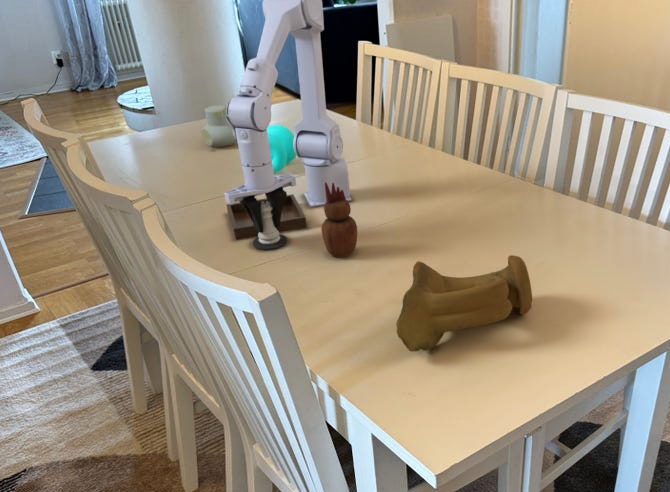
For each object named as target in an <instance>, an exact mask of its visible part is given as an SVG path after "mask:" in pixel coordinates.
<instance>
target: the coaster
mask: <svg viewBox="0 0 670 492" xmlns="http://www.w3.org/2000/svg"><path fill="white" fill-rule="evenodd" d="M279 236H280V240H279V241H278V242H277V243H275V244H272V245H264V244H262V243H260V242H259V240H258V239H259V237H258V236H256V238H254V239H253V241H252V246H253V247H254V248H255V249H256V250H259V251H274V250H277V249H280V248H283V247H284V246H286V245H287V244H288V237H287V236H285V235H284V234H281V233H279Z"/></svg>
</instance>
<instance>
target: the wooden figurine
mask: <svg viewBox="0 0 670 492" xmlns="http://www.w3.org/2000/svg"><path fill="white" fill-rule="evenodd" d="M325 191H326V203H325V205H323V212H324V215H325V219H324V221H323V222H322V224H321V230H320V231H321V236H322V241H323V243H324V246H325V248H326V251H327V253H328V254H329V255H330V256H332V257H335V258H344V257H349V256H350V255H352V254H353V253H354V252H355V250H356V248H357V243H358V225H357V221H356V220H355V219H354V218H353V217H352V216H350V215H351V212H352V211H351V209H352V208H351V204H350V201H347V200H346V199H345V195H344V192H343V190H341V191H340V190H339V187H337V191H336V190H335V186H334V183H332V191H331V193H330V190H329V188H328V185H327V183H326V182H325Z"/></svg>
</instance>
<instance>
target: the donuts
mask: <svg viewBox="0 0 670 492" xmlns="http://www.w3.org/2000/svg"><path fill="white" fill-rule="evenodd" d="M293 133H294V132H293V131H291V130H290V129H289V128H287V127H285V126H284V125H280V124H272V125H269V126H268V127H267V134H268V140H269V146H270V153H271V159H272V165H273V172H274V174H277V173H279V172H281V171H282V170H283V169H284V168H285V167H286V164H289V163H291V162H293V161H294V159H296V157H297V155H296V153H295V151H294V148H293V140H294V134H293Z"/></svg>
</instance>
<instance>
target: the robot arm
mask: <svg viewBox="0 0 670 492" xmlns="http://www.w3.org/2000/svg"><path fill="white" fill-rule="evenodd" d="M261 6H262V12H263V16H264V18H265V19H264V23H263V29H262V33H261V37H260V42H259V44H258V45H259V46H258V49H257V53H256V57H253V58H251V59H249V60H248V62H247V64H246V68H245V70H244V73H243V76H242V79H241V82H240V85H239V88H238V90H237V94H236V95H234V96H233V97H232V98H230V99H229V100H228V101H227V104H226V120H227V123H228V124H229V126H230V127H231V128H232V131H233V136H234V137H235V138H236V139H237V141H236V143H237V146H238V153H239V157H240V158H239V159H240V163H241V170H242V173H243V180H244V183H243V184H241V185H239V186H237V187H235V188H233V189H231V190H228V191H225V192H224V193H223V194H224V198H225V203H227V204H230V205H232V204H235V203H239V202H240V203H241V204H242V206H243V207H244V208H245V210H246V211H247V213H248V214H249V216H250V220H251V223H252V225H254V227H255V230H256V231H258V232H259V233H261V232H263V225H262V220H261V203H260V202H258V201H257V200H258V199H257V198H256V197H257V196H261V195H265V197H266V198H267V201H268V202H269V203H270V205H271V206H272V207H273V208H272V210H271V213H272V214H273V215H272V220H273V223H274V226H276V227H280V220H281V213H282V208H283V205H284V202H285V200H286V198H287V195H288V194H287V191H285V190H284V188H287V187H296V186H297V180H296V176H295V175H293V174H292V173H288V174H283V175H277V176H275V173H274V172H273V165H272V159H271V153H270V146H269V140H268V134H267V127H269V126H270V123H271V122H272V104H273V103H272V100H271V98H272V96H273V92H274V89H275V86H276V83H277V81H278V76H279V72H278V68H276V64H277V61H278V59H279V56H280V55H281V52H282V50H283V47H284V46H285V43H286V41H287V38H288V36H289V34H290V35H291V36H292V37H293V38H294V41H295V52H296V61H297V72H298V73H297V74H298V82H299V93H300V101H301V103H300V104H301V113H302V115H301V116H302V118H301V119H299V120H298V121H297V122H296V123H295V124H294V126H293V133H294V134H293V135H294V140H293V148H294V151H295V153H296V157H297V158H299V159H300V163H301V164H302V163H303V165H304V173H305V182H306V190H307V192H304V194H303V195H304V197H305V199H306V201H307V203H308V205H309V206H310V207H311V208H314V207H319V206H324V205H325V203H326V191H325V182H326V183H327V185H328V188H329V190H330V193H331V191H332V183H334V186H335V190H336V191H337V187H339V190H340V191H341V190H343V192H344V195H345V199H346V200H347V201H348V202H351V201H352V198H351V189H350V180H349V179H350V177H349V170H348V165H347V162H346V159H345V157H342V155H343V152H344V140H343V137H342V135H341V129H340V125H339V124H338V123H337V122H336V121H335V120H333V119H332V118H331V117H330V116H329V115H328V114H327V104H326V91H325V80H324V79H325V78H324V67H323V52H322V40H321V32H323V31H324V30H325V25H324V23H325V22H324V10H323V9H324V8H323V0H263V1H262V4H261Z"/></svg>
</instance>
